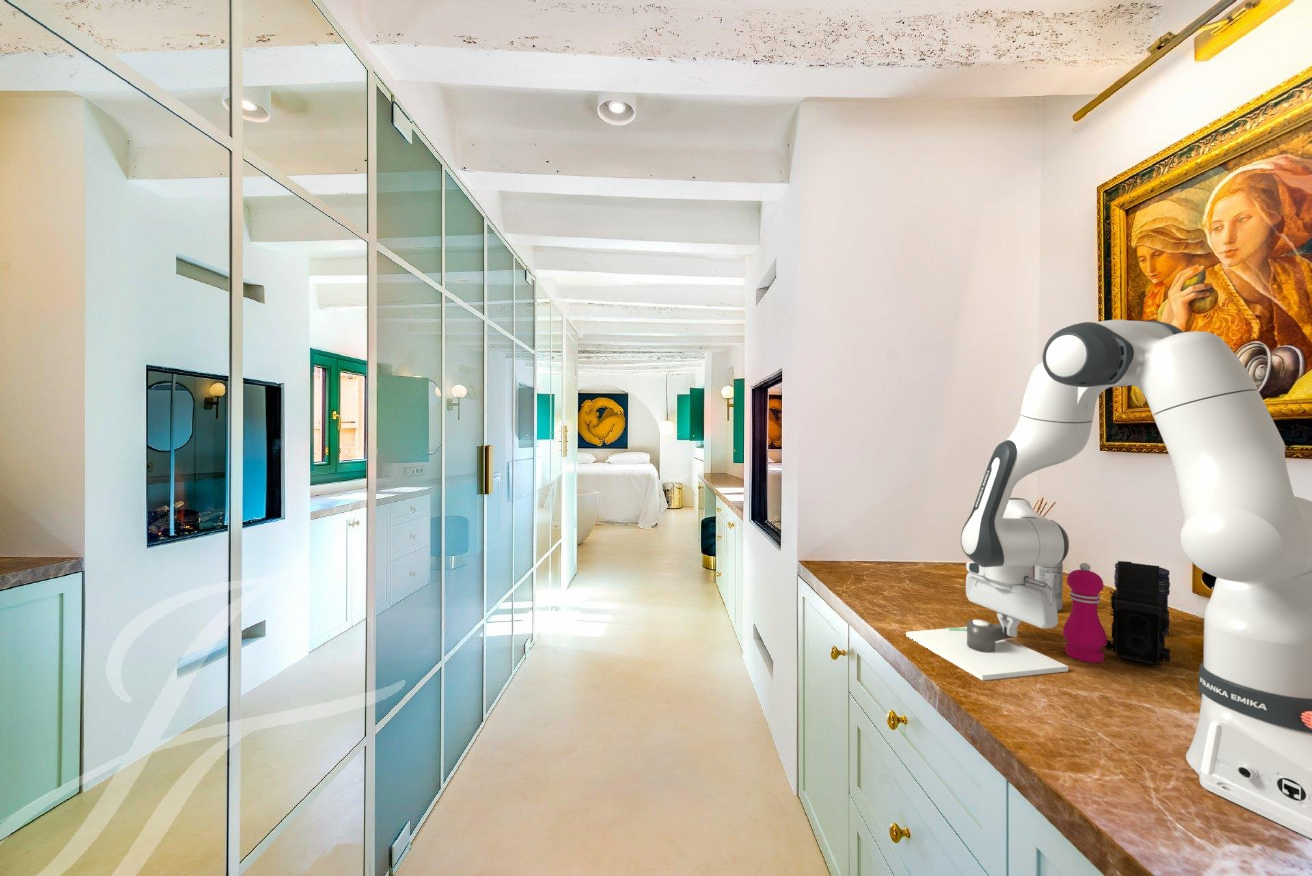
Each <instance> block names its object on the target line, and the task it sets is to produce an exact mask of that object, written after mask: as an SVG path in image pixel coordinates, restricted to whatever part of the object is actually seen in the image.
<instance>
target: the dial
mask: <svg viewBox="0 0 1312 876" xmlns="http://www.w3.org/2000/svg"><path fill="white" fill-rule="evenodd" d="M966 627H967V646H968V647H970V648H972V649H975V650H978V651H983V652H993V651H995V641H999V640H1004V639H1014V638H1017V637H1018V627H1017V628H1016V635H1015V636H1011V637H1010V636H1008V635H1006V634H1003V633H1002V625H1001V623H1000V622H998V623H995V624H992V623H990V622H988V621H987V620H983V619H973V620H968V621H967V622H966Z"/></svg>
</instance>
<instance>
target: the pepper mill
mask: <svg viewBox="0 0 1312 876" xmlns="http://www.w3.org/2000/svg"><path fill="white" fill-rule="evenodd" d="M1066 583H1067V586H1068V587H1069V588H1070V591H1069V593H1070V595H1069V598H1070V599H1071V601H1072V605H1071V607H1072V608H1071V612H1070V613H1069V616H1068V618H1067V619H1066V620H1065V623H1064V625H1063V628H1062V636H1063V637H1064V639H1065V640H1066V641H1067V643H1066V644H1065V653H1066V655H1067V656H1069V657H1070V658H1073V659H1076V660H1079V661H1080V662H1081V661H1082V662H1086V663H1093V664H1094V663H1096V664H1097V663H1103V662H1104V661H1105V660H1104V658H1105V657H1104V655H1105V652H1104V651H1103V650H1102V649H1103V648H1104V647H1106V644H1107V640H1108V639H1107V638H1108V636H1107V633H1106V631H1105V628H1104V627H1103V625H1102V623H1101V621H1100V618H1099V614H1098V604H1099V603H1101V600H1100V599H1101V595H1100V594H1099V593H1101V592H1102V591H1103V590H1104V585H1105V584H1104V581H1103V579H1102V577H1101V576H1100V575H1099V574H1098V573H1096V572H1094V571H1091V565H1090V564H1089V563H1087V562H1082V563H1080V564H1079V569H1075V570H1072V571H1071V572H1069V573H1068V575H1067V578H1066Z"/></svg>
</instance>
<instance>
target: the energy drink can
mask: <svg viewBox="0 0 1312 876" xmlns="http://www.w3.org/2000/svg"><path fill="white" fill-rule="evenodd" d="M1063 561H1064V560H1063ZM1063 561H1062V562H1061V563H1060V564H1058V565H1053V566H1034V579H1036V580H1039V581H1044V582H1046V583H1047V584H1048V585H1049V586H1050V587H1051V588H1052V589H1053V591H1054V597H1055V601H1056V606H1057V613H1060V610H1062V609H1063V583H1064V581H1063V579H1064V578H1063V571H1064V570H1063ZM1047 588H1048V587H1047Z"/></svg>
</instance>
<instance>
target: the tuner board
mask: <svg viewBox="0 0 1312 876" xmlns="http://www.w3.org/2000/svg"><path fill="white" fill-rule="evenodd" d="M905 636H906V637H907V638H908V637H909V638H908V639H910V640H912V639H913V640H912V641H913V642H915V641H916V642H915V643H917V642H918V643H917V644H919V645H920V646H923V647H924V648H926V649H927V648H928V650H929V651H931V652H933V653H934V654H936V655H938V656H940V657H941V658H943V659H945V660H946V661H947V662H950V663H952V664H954V665H955V666H957V667H959V668H960V669H962V670H964V671H965V672H967V673H968V674H970V675H972V676H974V677H976V678H977V679H979V680H980V681H992V680H1001V679H1009V678H1010V679H1011V678H1017V677H1018V678H1020V677H1028V676H1029V677H1030V676H1037V675H1045V674H1047V675H1048V674H1056V673H1064V672H1066V673H1067V672H1069V666H1068V665H1067V664H1064V663H1062V662H1060V661H1058V660H1056V659H1053V658H1052V657H1049V656H1047V655H1045V654H1043V653H1041V652H1038V651H1036V650H1034V649H1031V648H1030V647H1027V646H1025V645H1024V643H1021V642H1019V641H1016V640H1014V639H1012V638H1008V639H1004V640H999V641H995V651H993V652H983V651H978V650H975V649H972V648H970V647H968V646H967V626H961V627H946V628H935V629H925V630H924V629H923V630H914V631H912V630H911V631H906V632H905Z"/></svg>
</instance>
